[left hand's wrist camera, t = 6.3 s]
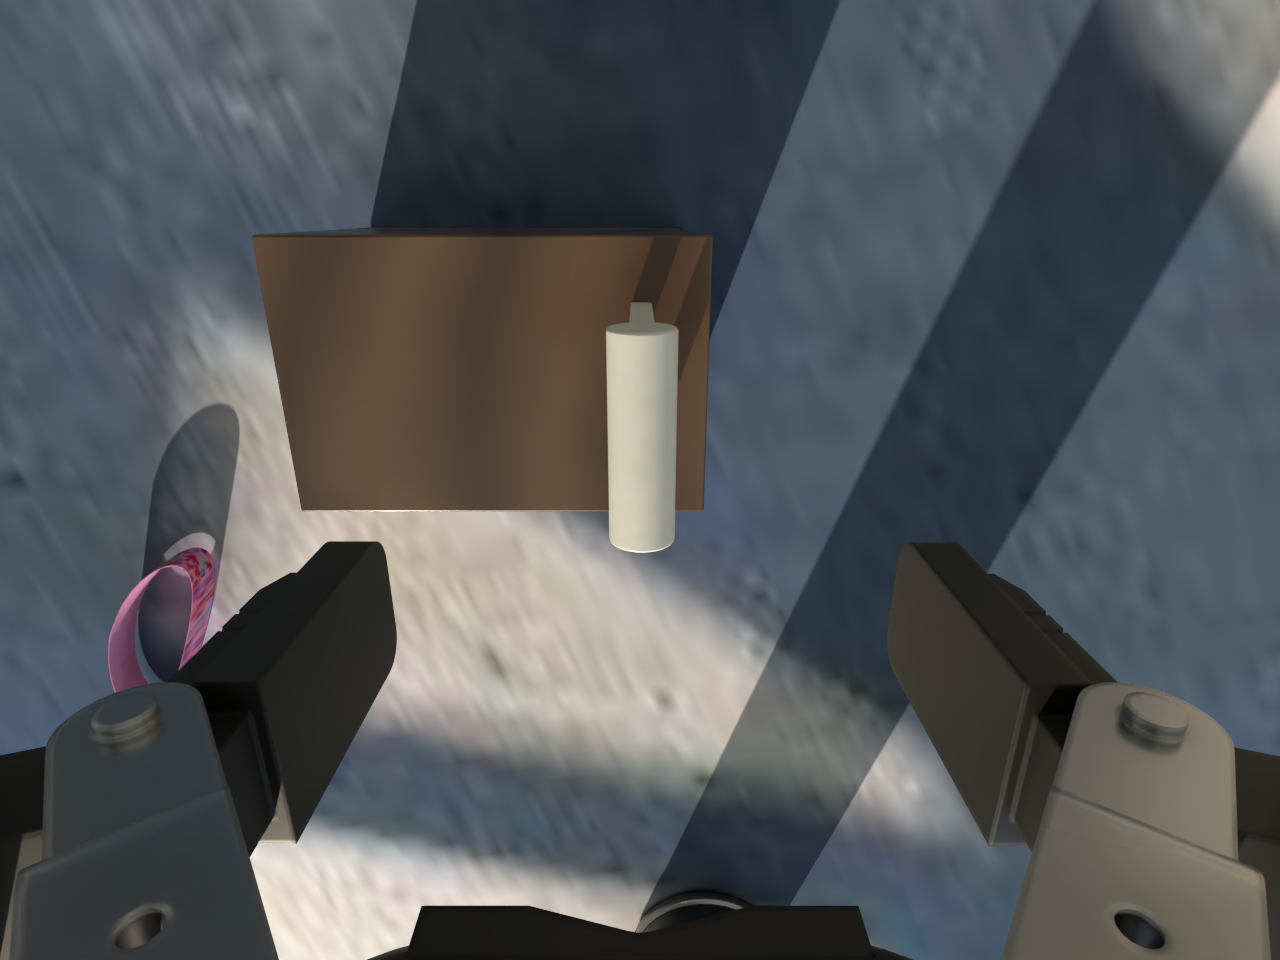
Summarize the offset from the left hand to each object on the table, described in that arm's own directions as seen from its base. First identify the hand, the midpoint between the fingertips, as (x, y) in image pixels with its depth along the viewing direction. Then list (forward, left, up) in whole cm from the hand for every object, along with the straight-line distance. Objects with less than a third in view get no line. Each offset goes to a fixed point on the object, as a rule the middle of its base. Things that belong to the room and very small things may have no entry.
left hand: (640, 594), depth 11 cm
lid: (-3, +4, -16) cm, 17 cm away
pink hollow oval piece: (-30, +9, -25) cm, 40 cm away
